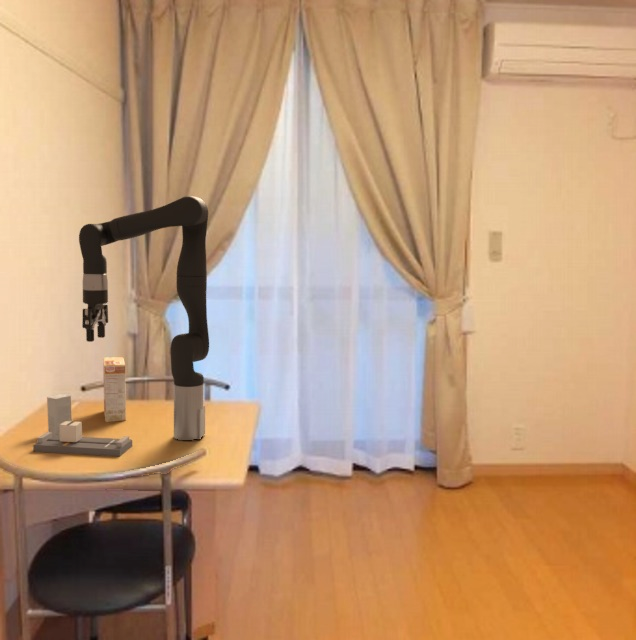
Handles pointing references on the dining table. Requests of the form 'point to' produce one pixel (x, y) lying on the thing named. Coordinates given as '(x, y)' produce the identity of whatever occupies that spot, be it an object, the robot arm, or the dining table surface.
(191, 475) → the dining table surface
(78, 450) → the fader board
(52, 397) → the skincare box
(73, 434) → the fader knob
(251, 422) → the dining table surface
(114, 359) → the coffeecake box
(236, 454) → the dining table surface
